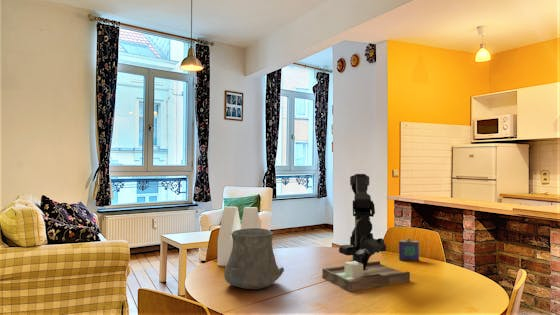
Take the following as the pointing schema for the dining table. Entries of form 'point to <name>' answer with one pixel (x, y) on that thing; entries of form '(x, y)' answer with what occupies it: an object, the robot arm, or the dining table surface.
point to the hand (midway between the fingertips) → (363, 270)
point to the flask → (408, 250)
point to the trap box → (365, 277)
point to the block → (353, 269)
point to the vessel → (252, 259)
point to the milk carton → (234, 229)
